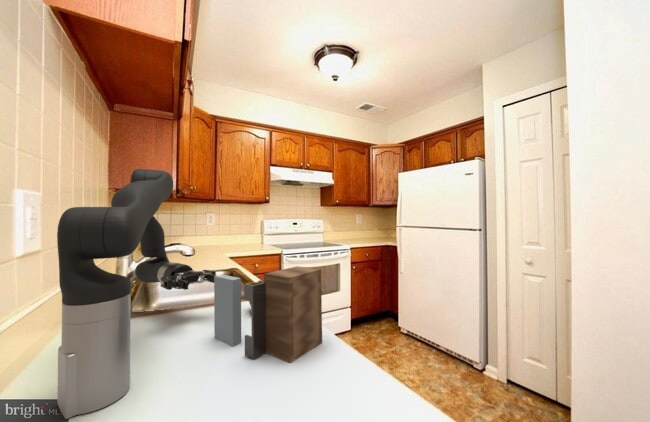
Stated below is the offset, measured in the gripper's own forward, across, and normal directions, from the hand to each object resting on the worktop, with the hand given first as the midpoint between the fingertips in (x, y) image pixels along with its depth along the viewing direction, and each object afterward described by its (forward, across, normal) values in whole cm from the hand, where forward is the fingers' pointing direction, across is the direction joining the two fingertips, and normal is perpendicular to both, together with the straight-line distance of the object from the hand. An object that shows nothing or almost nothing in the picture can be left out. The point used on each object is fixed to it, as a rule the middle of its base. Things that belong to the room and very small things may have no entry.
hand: (202, 282), depth 76 cm
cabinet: (+29, +7, +13) cm, 32 cm away
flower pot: (+3, +19, +14) cm, 23 cm away
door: (+12, 0, +13) cm, 18 cm away
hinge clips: (+24, 0, +13) cm, 27 cm away
